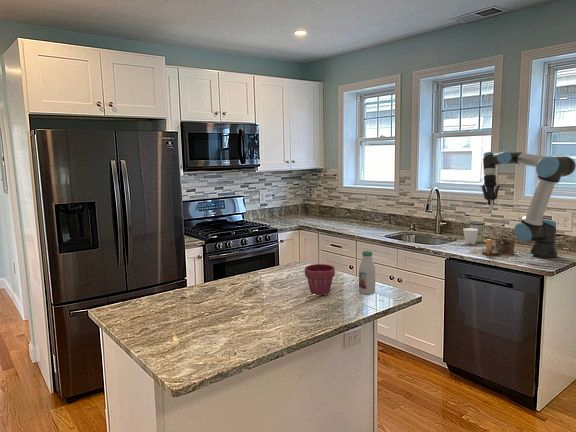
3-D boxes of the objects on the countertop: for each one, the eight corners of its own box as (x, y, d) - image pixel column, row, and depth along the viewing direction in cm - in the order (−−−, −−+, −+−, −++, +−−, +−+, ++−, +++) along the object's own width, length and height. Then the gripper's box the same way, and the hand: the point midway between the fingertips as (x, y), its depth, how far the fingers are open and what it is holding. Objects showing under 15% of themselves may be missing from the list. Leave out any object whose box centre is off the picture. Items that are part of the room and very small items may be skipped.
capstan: (493, 251, 288) (493, 236, 287) (503, 255, 277) (504, 239, 275) (477, 252, 287) (478, 237, 286) (487, 256, 276) (488, 240, 274)
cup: (461, 245, 315) (462, 230, 313) (463, 242, 324) (464, 227, 322) (476, 246, 310) (477, 230, 309) (478, 243, 319) (478, 228, 317)
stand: (513, 255, 283) (514, 239, 281) (506, 260, 270) (507, 243, 268) (475, 250, 298) (475, 235, 297) (466, 254, 285) (467, 239, 284)
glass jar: (467, 240, 333) (467, 221, 331) (481, 240, 332) (482, 221, 330) (471, 242, 323) (472, 223, 321) (486, 242, 322) (486, 223, 320)
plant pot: (299, 295, 210) (299, 268, 208) (314, 287, 222) (314, 262, 220) (325, 300, 202) (325, 272, 200) (339, 291, 214) (339, 266, 212)
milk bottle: (373, 289, 216) (373, 249, 213) (376, 294, 208) (377, 253, 206) (357, 290, 216) (357, 250, 213) (360, 295, 208) (360, 253, 205)
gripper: (495, 176, 304) (496, 210, 303) (477, 175, 302) (479, 210, 301) (502, 174, 297) (503, 209, 295) (483, 174, 295) (485, 209, 293)
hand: (491, 209), depth 298 cm, fingers closed
